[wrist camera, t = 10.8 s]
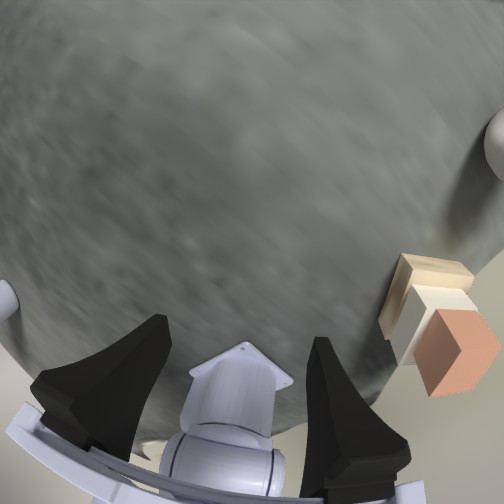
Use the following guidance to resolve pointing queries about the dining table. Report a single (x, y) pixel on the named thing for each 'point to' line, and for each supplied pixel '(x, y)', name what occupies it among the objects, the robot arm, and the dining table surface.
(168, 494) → the robot arm
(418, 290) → the cream top block
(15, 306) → the spray bottle
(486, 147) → the donut
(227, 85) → the dining table surface
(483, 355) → the terracotta cube
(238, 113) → the dining table surface
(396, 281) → the birch base block
